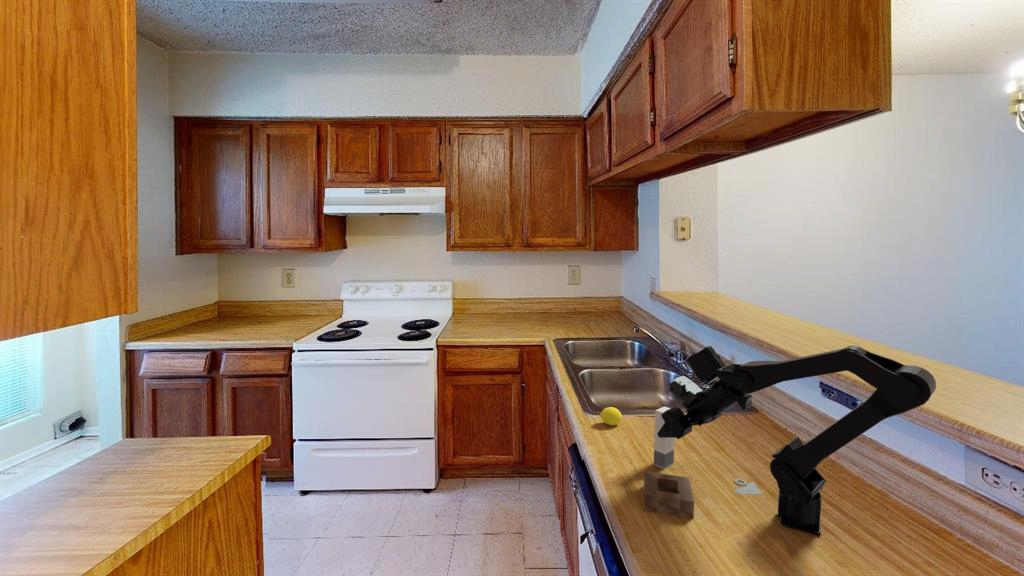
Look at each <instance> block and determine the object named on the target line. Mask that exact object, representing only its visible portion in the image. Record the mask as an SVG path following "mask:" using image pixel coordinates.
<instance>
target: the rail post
mask: <svg viewBox="0 0 1024 576" xmlns="http://www.w3.org/2000/svg"><path fill="white" fill-rule="evenodd" d="M671 408H672V407H667V406H662V407H660V408H657V409H655V410H654V411H655V413H654V414H655V415H654V421H655V422H654V444H653V445H654V446H653V447H654V449H653V450H654V451H653V465H654V466H657V467H658V468H661V469H663V470H666V469H667V468H669V467H670V466H673V465H674V461H675V460H674V459H675V458H674V457H675V438H660V437H659V436H658V435H657V433H658V432H659V430H660V429H661V427H662V426H663V425H664V423H665V421H664V420H663V418H662V416H661V414H662V413H664V412H665V411H666V410H668V409H671Z"/></svg>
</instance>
